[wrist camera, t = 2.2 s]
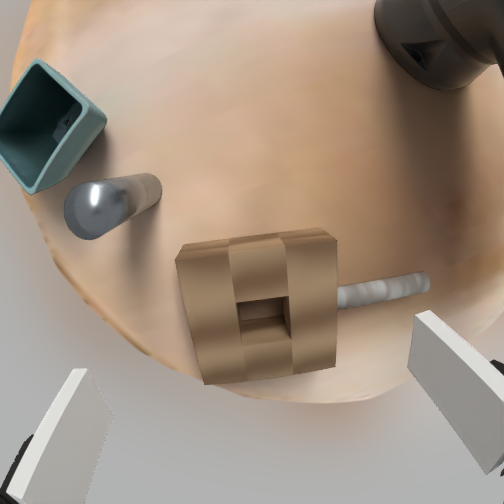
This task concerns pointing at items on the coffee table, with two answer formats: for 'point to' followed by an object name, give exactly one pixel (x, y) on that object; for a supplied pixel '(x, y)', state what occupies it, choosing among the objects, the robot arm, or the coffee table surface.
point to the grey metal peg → (109, 203)
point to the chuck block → (271, 286)
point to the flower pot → (46, 127)
